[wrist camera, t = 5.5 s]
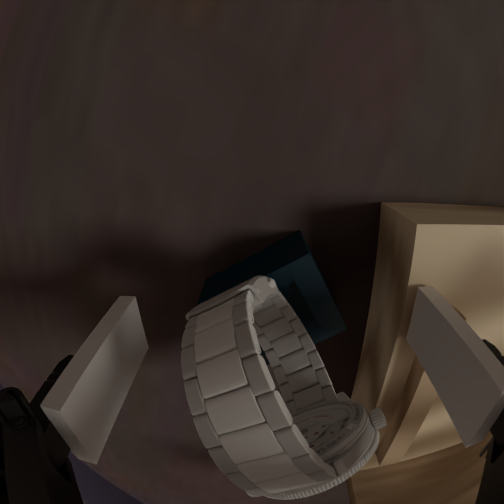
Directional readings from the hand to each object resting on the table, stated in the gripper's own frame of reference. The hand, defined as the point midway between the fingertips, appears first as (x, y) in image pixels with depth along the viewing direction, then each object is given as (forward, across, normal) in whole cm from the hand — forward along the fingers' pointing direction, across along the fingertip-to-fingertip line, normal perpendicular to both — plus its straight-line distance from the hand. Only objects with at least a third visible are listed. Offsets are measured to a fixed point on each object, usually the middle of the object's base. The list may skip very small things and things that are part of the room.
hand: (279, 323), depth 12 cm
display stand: (+4, +13, -6) cm, 15 cm away
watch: (+4, 0, -1) cm, 4 cm away
